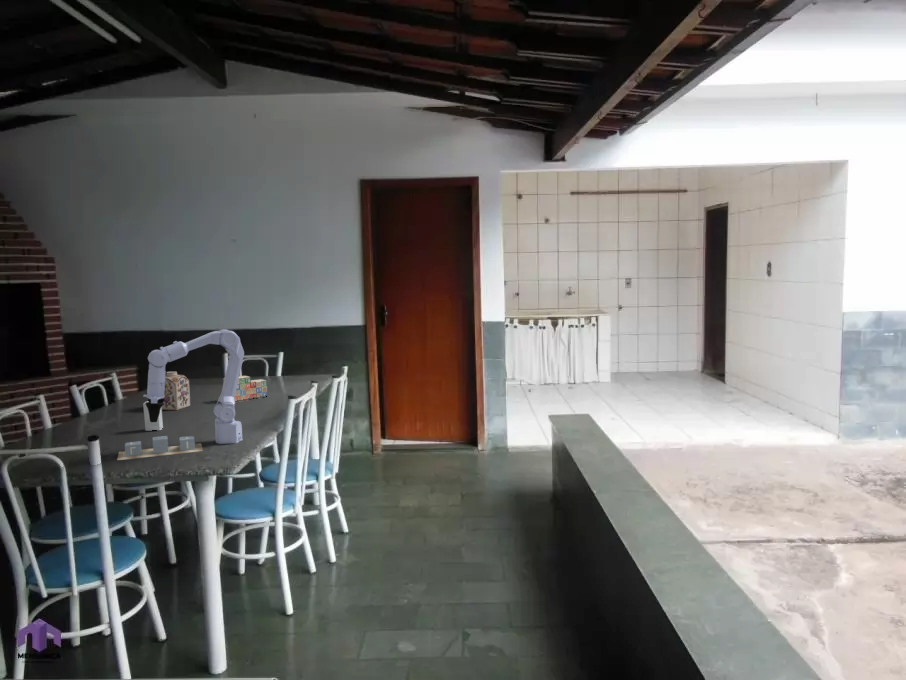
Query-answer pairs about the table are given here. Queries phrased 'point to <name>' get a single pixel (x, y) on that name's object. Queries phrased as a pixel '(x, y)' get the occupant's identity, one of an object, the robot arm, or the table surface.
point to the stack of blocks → (250, 388)
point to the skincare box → (152, 425)
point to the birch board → (150, 453)
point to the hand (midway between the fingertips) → (154, 420)
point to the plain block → (160, 444)
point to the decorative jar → (176, 392)
